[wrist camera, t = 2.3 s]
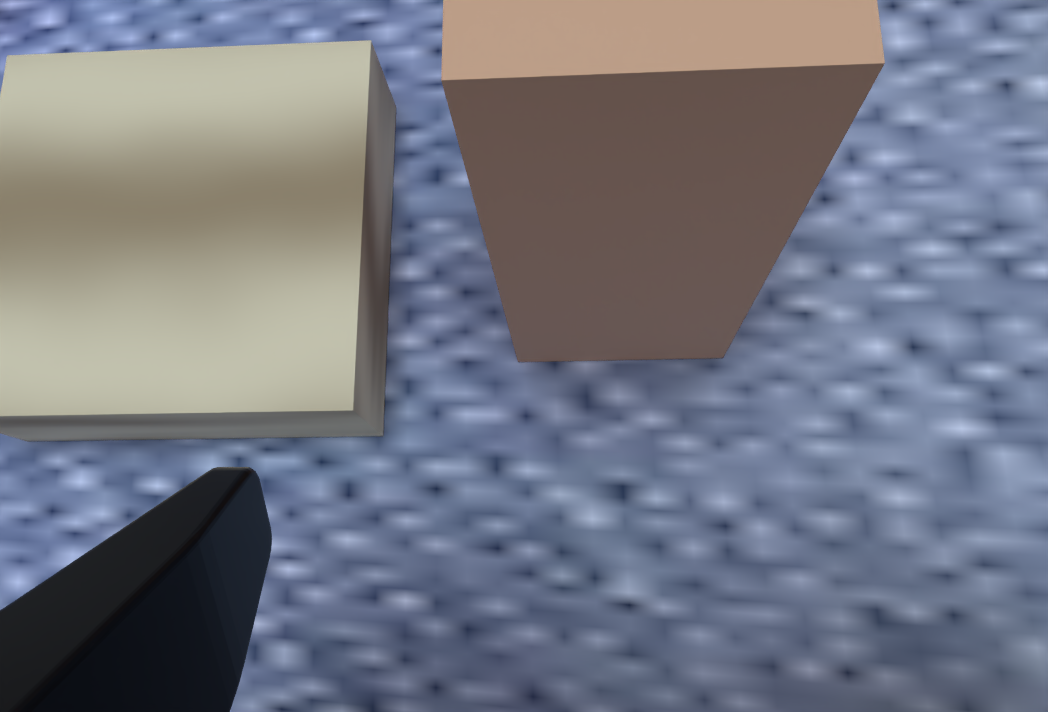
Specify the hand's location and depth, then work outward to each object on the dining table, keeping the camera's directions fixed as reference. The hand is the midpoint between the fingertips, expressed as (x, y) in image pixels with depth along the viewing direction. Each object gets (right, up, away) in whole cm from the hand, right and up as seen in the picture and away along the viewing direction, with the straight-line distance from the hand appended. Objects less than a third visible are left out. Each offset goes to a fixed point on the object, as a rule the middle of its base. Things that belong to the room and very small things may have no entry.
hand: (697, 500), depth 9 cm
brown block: (+1, +4, +14) cm, 14 cm away
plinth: (-10, +4, +15) cm, 18 cm away
